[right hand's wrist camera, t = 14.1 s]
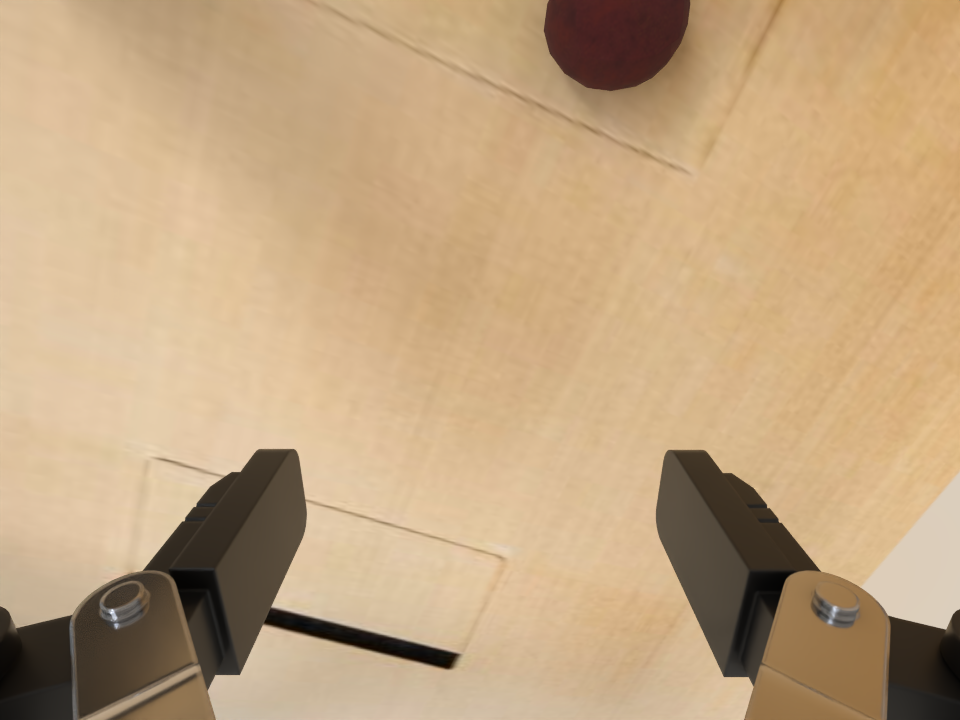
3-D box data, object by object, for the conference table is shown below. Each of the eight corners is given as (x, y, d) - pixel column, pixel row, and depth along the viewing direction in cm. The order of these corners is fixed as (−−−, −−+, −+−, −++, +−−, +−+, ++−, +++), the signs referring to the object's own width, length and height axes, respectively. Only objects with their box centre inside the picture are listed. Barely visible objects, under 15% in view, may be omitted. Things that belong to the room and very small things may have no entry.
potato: (663, 88, 34) (707, 73, 27) (542, 104, 34) (557, 93, 27) (664, -51, 31) (713, -105, 24) (533, -32, 31) (547, -81, 25)
